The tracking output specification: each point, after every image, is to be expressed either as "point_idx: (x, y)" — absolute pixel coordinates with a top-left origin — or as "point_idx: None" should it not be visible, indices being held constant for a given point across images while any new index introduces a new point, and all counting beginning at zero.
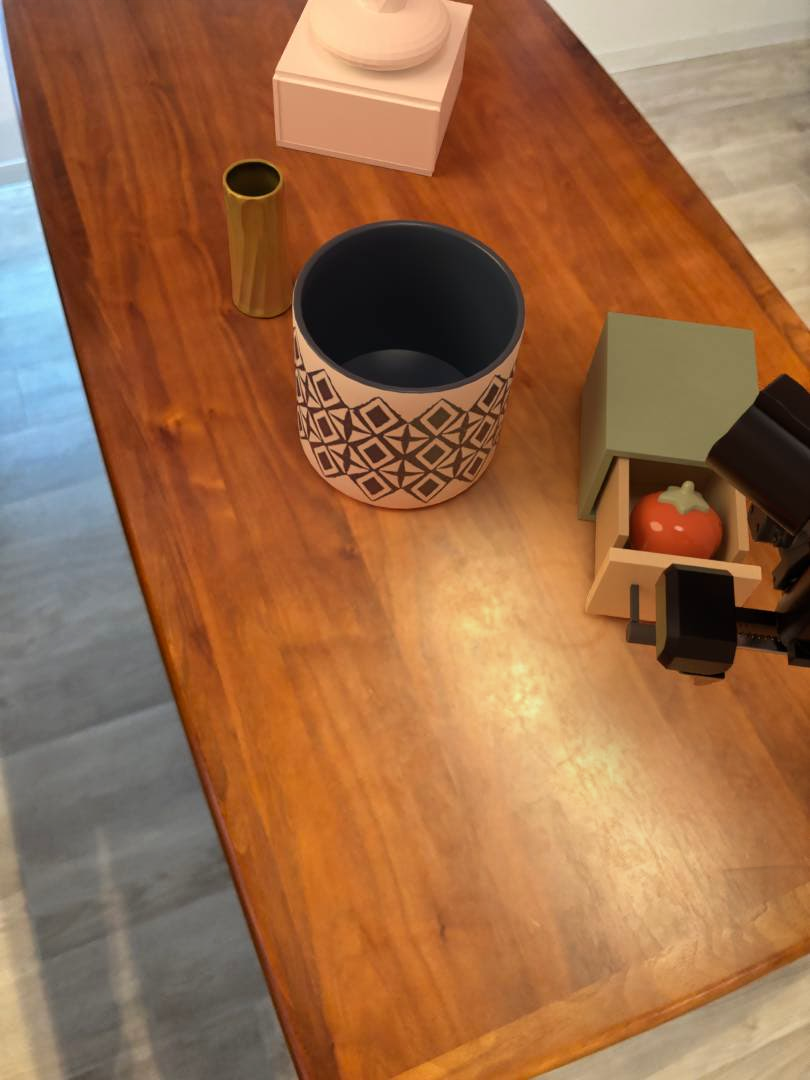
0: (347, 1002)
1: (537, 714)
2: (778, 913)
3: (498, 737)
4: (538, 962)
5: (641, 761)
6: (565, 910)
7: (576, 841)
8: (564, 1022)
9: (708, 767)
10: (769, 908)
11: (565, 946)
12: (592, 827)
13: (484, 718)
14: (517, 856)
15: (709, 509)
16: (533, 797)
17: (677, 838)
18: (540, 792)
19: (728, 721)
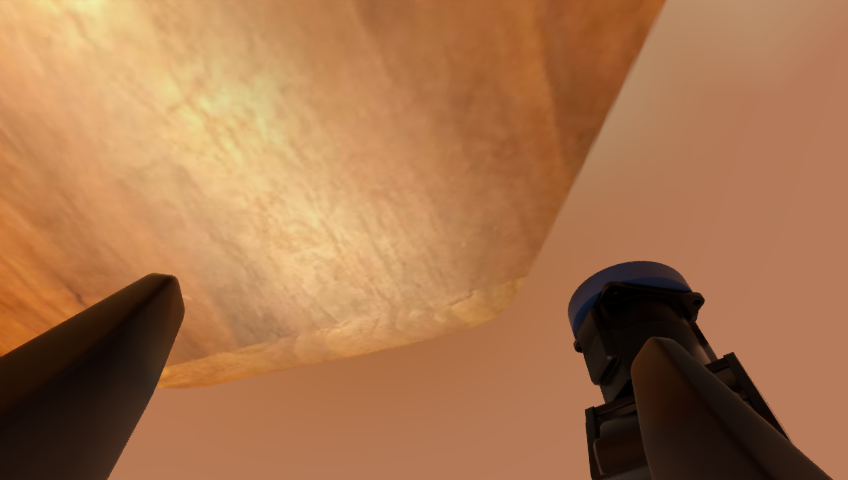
0: (10, 344)
1: (104, 8)
2: (485, 300)
3: (46, 57)
4: (198, 326)
5: (315, 108)
6: (219, 287)
7: (220, 219)
8: (234, 365)
9: (434, 122)
10: (475, 296)
11: (225, 316)
12: (241, 203)
13: (3, 15)
14: (142, 233)
15: None
16: (142, 160)
17: (367, 221)
18: (151, 153)
19: (495, 32)
